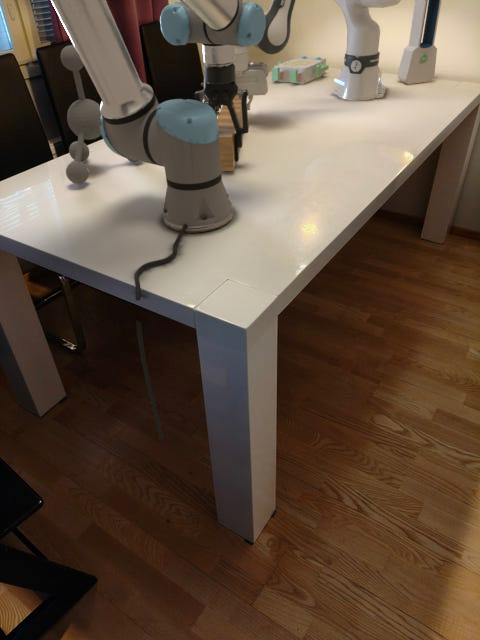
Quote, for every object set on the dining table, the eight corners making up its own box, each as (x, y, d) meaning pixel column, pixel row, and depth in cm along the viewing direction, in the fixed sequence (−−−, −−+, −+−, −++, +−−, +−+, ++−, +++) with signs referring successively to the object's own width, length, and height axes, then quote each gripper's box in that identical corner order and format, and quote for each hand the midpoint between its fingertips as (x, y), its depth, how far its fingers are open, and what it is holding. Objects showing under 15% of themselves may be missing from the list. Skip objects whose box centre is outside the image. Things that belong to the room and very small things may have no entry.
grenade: (202, 115, 171) (199, 84, 165) (206, 110, 175) (204, 80, 169) (220, 115, 169) (217, 84, 163) (224, 111, 174) (222, 80, 167)
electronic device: (405, 84, 191) (419, -7, 173) (396, 80, 197) (408, -9, 178) (434, 81, 193) (450, -10, 175) (423, 77, 199) (438, -11, 181)
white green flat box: (294, 54, 218) (335, 57, 208) (294, 70, 222) (334, 73, 212) (263, 65, 202) (305, 69, 192) (263, 82, 206) (304, 86, 196)
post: (233, 171, 126) (231, 136, 120) (212, 171, 126) (209, 137, 121) (247, 115, 165) (246, 87, 160) (231, 115, 165) (229, 88, 160)
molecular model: (155, 174, 129) (135, 45, 110) (70, 190, 123) (34, 57, 104) (137, 148, 146) (116, 33, 128) (61, 161, 140) (29, 42, 122)
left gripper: (258, 59, 118) (260, 154, 132) (183, 62, 120) (193, 155, 134) (257, 65, 112) (259, 164, 127) (178, 68, 114) (189, 165, 128)
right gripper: (268, 59, 151) (269, 106, 160) (203, 62, 153) (207, 108, 162) (267, 63, 146) (268, 111, 155) (200, 66, 148) (205, 114, 157)
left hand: (225, 159), depth 130 cm, fingers closed on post, 5 cm apart
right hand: (237, 110), depth 158 cm, fingers closed on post, 5 cm apart
